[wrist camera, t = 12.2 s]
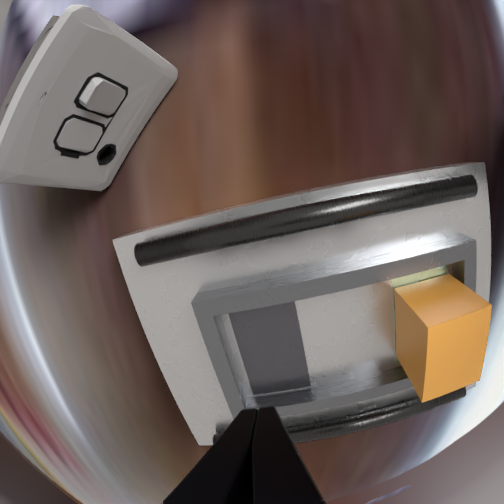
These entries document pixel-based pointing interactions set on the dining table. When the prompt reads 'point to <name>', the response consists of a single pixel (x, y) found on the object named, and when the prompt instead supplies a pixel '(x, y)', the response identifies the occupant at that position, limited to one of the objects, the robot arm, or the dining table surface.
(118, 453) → the dining table surface
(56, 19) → the electrical switch
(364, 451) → the dining table surface
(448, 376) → the orange cube block
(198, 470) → the robot arm
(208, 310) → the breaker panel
